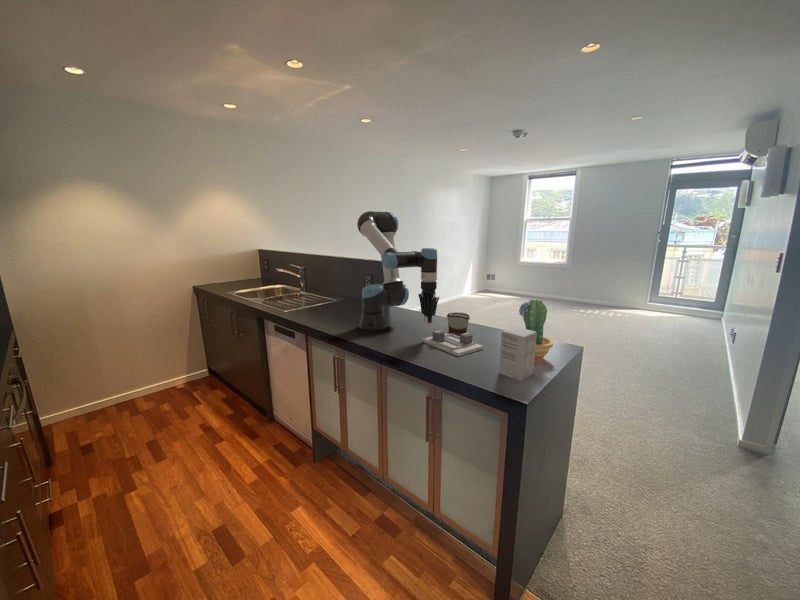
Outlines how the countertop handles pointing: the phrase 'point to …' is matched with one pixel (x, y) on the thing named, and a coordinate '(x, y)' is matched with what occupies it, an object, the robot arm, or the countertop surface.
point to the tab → (438, 336)
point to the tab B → (466, 338)
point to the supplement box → (517, 353)
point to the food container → (458, 322)
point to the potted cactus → (536, 325)
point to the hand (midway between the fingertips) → (428, 328)
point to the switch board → (453, 345)
